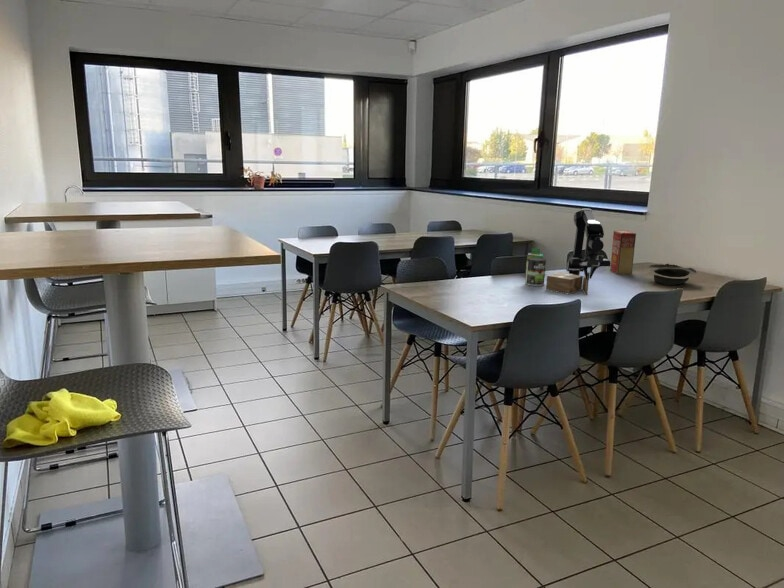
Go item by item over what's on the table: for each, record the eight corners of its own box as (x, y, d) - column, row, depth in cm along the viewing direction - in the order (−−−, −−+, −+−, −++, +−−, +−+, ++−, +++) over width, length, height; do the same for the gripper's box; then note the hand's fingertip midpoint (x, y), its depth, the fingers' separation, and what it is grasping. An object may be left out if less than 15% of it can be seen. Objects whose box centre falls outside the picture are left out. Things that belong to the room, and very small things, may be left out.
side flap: (581, 289, 303) (583, 267, 300) (583, 289, 302) (585, 268, 300) (585, 295, 290) (587, 273, 287) (587, 295, 289) (589, 273, 287)
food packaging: (608, 270, 356) (613, 230, 350) (624, 270, 356) (628, 230, 350) (617, 274, 343) (621, 233, 337) (632, 274, 343) (637, 233, 337)
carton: (558, 285, 312) (560, 272, 310) (581, 289, 303) (583, 275, 301) (545, 289, 302) (547, 275, 300) (569, 294, 293) (570, 279, 291)
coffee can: (547, 285, 312) (549, 260, 308) (530, 286, 309) (532, 260, 306) (538, 281, 321) (540, 256, 318) (521, 282, 319) (523, 257, 315)
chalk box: (525, 274, 342) (527, 249, 338) (526, 271, 351) (528, 247, 347) (541, 275, 339) (543, 250, 336) (542, 272, 348) (543, 248, 344)
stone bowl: (675, 277, 336) (678, 262, 334) (703, 290, 313) (707, 274, 310) (637, 277, 332) (639, 262, 330) (662, 290, 309) (665, 274, 306)
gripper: (576, 249, 279) (572, 281, 283) (615, 251, 277) (611, 282, 281) (571, 246, 290) (568, 276, 294) (609, 248, 288) (605, 278, 292)
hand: (588, 278), depth 290 cm, fingers closed
